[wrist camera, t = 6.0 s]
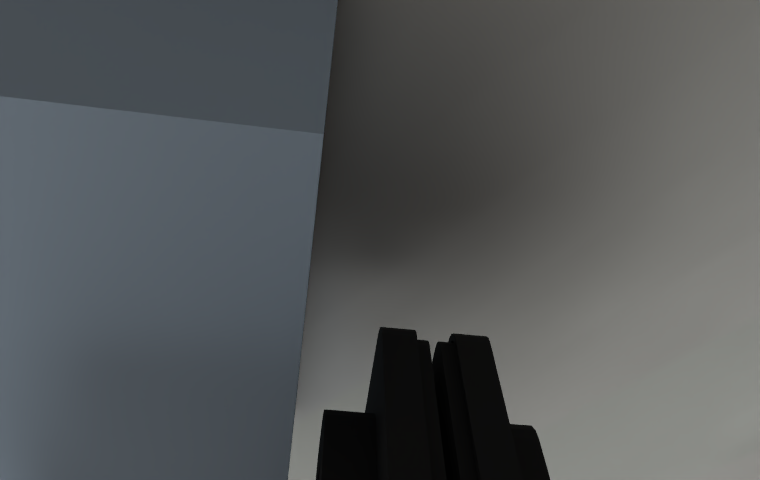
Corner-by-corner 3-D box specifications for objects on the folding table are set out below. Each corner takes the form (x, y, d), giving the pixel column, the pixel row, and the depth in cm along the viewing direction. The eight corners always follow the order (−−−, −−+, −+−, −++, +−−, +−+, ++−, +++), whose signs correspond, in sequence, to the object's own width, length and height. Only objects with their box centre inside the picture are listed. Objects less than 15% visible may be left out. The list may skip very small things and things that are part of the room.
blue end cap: (-160, -86, 11) (-634, 21, 6) (339, -18, 12) (323, 134, 7) (-47, 392, 17) (-241, 676, 11) (294, 419, 18) (264, 698, 12)
